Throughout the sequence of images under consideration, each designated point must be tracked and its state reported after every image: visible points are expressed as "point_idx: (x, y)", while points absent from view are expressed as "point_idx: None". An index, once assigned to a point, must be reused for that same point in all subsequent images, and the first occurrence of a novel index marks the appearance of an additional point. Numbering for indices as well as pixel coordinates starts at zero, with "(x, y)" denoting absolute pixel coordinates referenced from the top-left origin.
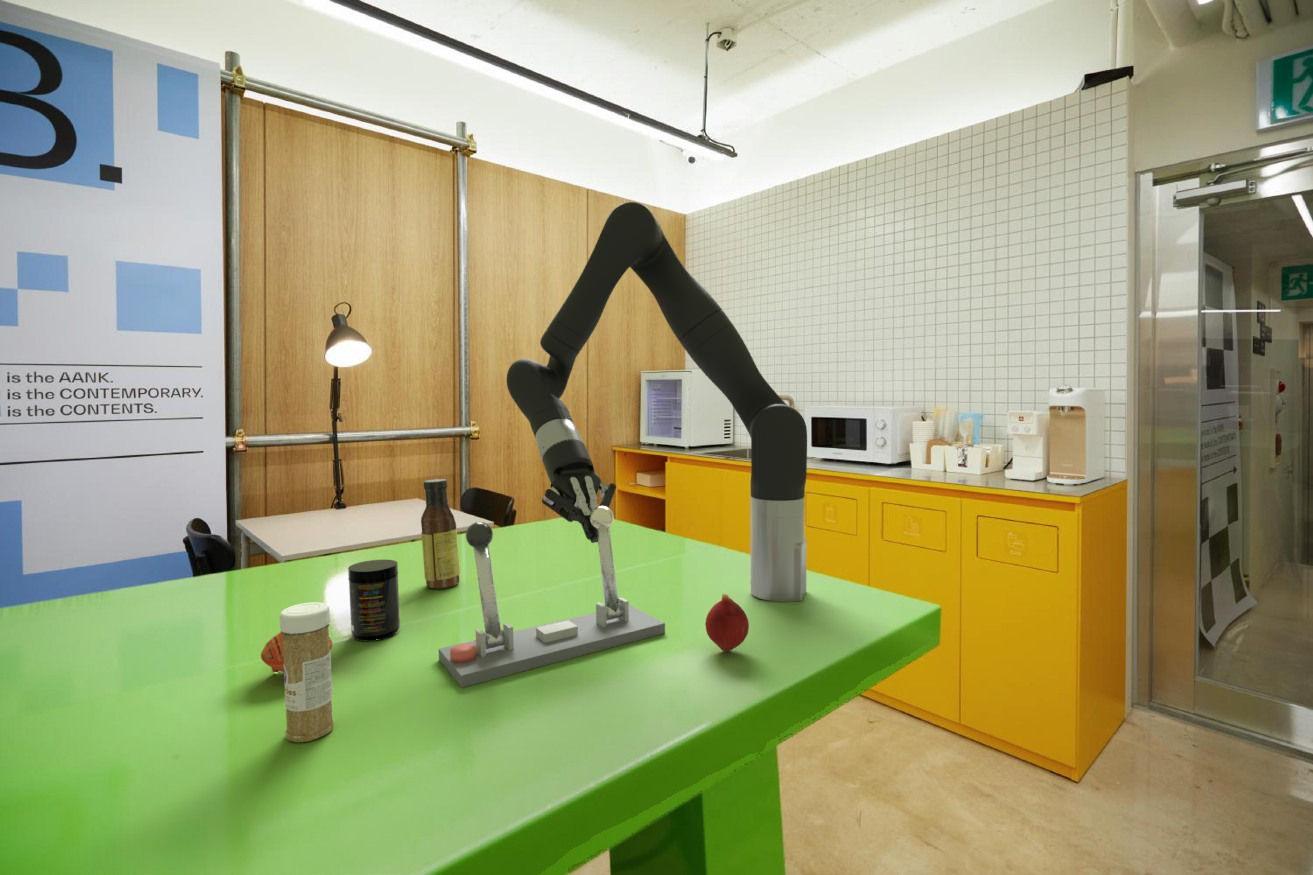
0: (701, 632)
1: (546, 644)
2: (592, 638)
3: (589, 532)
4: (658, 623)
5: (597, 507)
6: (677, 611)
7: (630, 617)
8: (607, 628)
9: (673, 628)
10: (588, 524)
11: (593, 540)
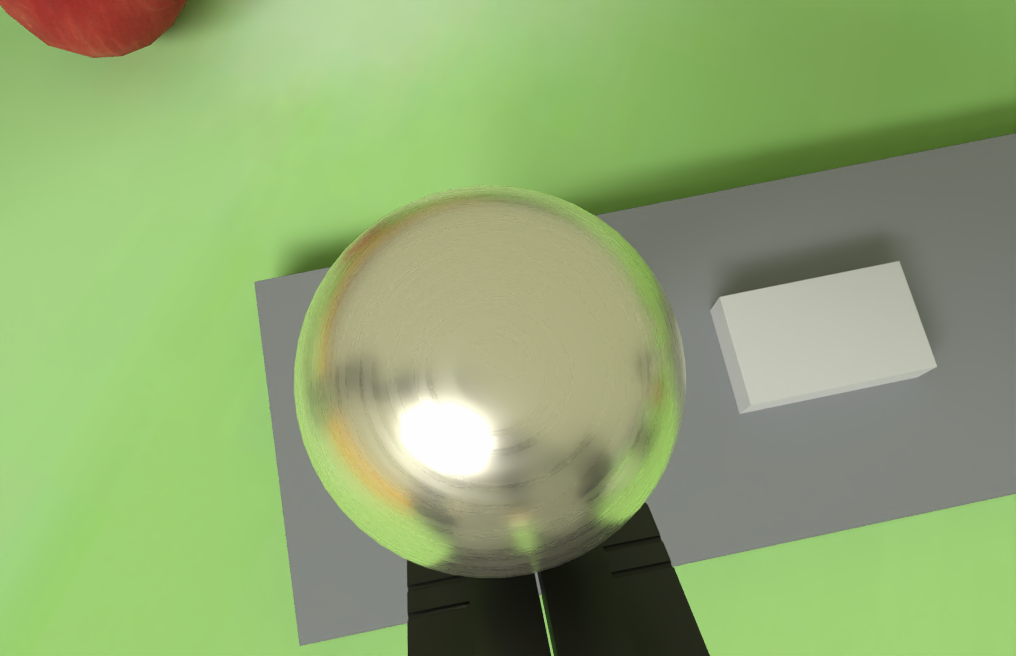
0: (113, 241)
1: (877, 253)
2: (654, 236)
3: (643, 504)
4: (285, 291)
5: (573, 311)
6: (49, 565)
7: None
8: None
9: (202, 338)
10: (645, 595)
11: None
